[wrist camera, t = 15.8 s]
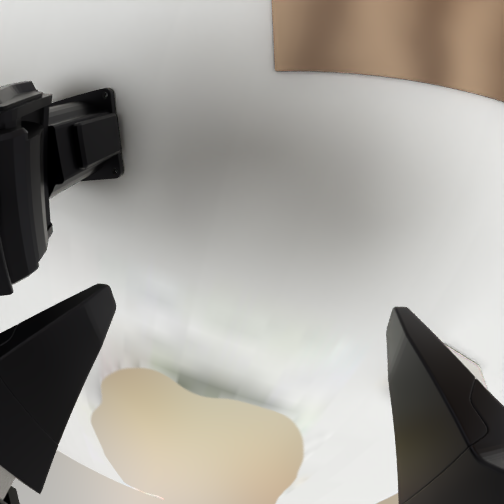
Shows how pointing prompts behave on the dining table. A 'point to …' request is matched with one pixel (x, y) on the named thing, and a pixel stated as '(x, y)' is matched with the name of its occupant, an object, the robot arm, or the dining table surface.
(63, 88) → the dining table surface
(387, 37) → the wooden base with peg
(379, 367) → the dining table surface
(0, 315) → the dining table surface
